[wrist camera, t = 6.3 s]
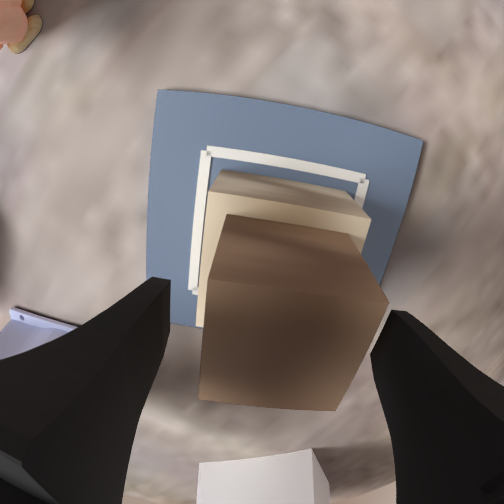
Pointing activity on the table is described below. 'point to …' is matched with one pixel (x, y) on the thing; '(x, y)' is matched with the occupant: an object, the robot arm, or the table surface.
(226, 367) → the walnut cube
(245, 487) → the milk
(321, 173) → the board
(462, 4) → the table surface
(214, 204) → the maple block
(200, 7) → the table surface
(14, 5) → the grandmother figurine
